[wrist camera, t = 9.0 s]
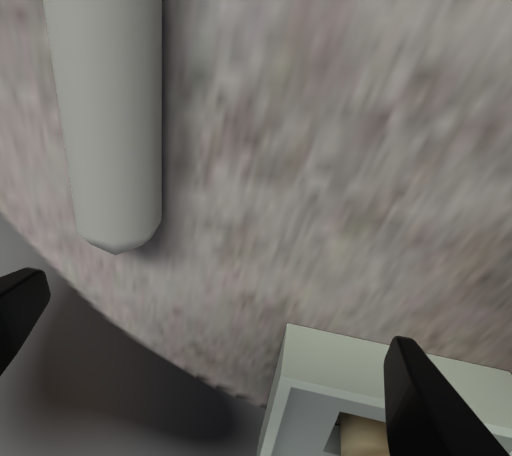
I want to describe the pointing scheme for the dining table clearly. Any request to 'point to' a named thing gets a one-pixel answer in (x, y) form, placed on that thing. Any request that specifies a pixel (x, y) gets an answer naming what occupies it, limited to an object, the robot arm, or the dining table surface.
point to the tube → (110, 115)
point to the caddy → (358, 392)
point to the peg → (362, 436)
